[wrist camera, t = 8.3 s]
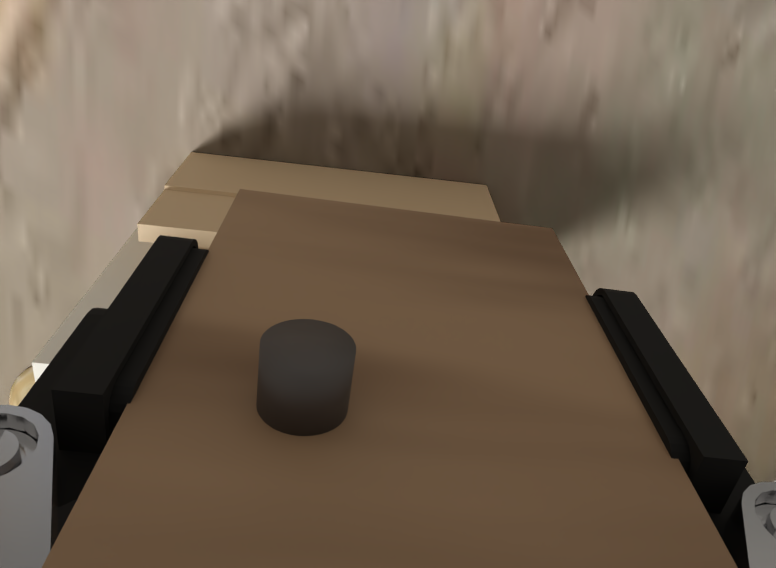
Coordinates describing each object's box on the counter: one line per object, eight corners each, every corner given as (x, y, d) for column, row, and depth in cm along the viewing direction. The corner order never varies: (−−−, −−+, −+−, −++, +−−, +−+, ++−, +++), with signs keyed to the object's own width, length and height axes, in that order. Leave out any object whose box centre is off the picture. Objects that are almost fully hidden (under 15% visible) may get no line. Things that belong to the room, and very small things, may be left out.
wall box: (471, 515, 17) (571, 1178, 8) (229, 492, 16) (51, 1168, 7) (562, 189, 13) (985, 825, 4) (241, 147, 12) (-132, 757, 3)
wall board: (504, 264, 39) (567, 441, 26) (157, 228, 38) (37, 395, 25) (522, 189, 37) (599, 341, 24) (153, 147, 35) (18, 284, 22)
